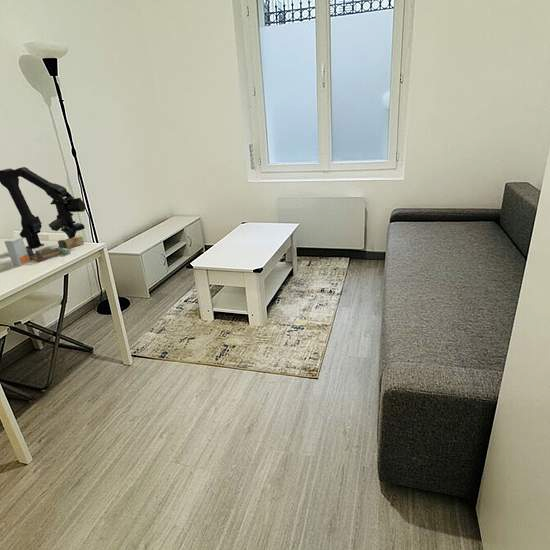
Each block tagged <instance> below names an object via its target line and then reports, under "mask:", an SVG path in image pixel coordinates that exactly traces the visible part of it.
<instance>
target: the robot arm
mask: <svg viewBox="0 0 550 550" xmlns="http://www.w3.org/2000/svg"><path fill="white" fill-rule="evenodd" d="M20 177H21V178H23V179H24V180H26V181H28V182H30V183H31V184H32V185H34V186H36V187H38V188H39V189H41V190H43V191H44V192H45V194H46V195H47V196H48V197H50V198H51V199H52V201H51V202H50V205H54V206H55V207H56V211H57V215H56V218H55V220H53V221H51V222H50V223H48V227H49V228H50V229H51V230H52V231H55V232H59V230H60V231H61V232H63V233H65V234H66V237H68V239H69V238H72V237H75V236H76V234H77V232H79V231H82V230H85V225H84V224H83V223H81V222H77V223H76V220H74V219H73V216H74V213H78V212H79V213H81V212H85V210H86V203H85V202H84V201H83V200H82V198H81V197H76V198H75V197H74V196H73V195H72V194H71V193H70V192H69V191H67V188H66V187H64V186H62V185H60V184H57V183H53V182H51V181H48V180H47V179H46V178H43V177H42V176H40V175H38V174H37V173H35V172H33V171H32V170H30V169H29V168H28V167H25V166H22V167H18V168H16V169H13V168H5V169H1V170H0V184H1V185H2V186H3V187H4V188H6V189H7V191H8V194H9V195H10V197H11V199H12V200H13V203H14V206H15V207H16V209H17V211H18V213H19V215H20V219H21V220H20V224H21V227H22V229H21V231H20V232H19V237H22V238H23V239H25V240H26V243H27V245H25V247H26V249H32V250H34V249H36V248H40V247H42V246H45V244H44V243H41V241H40V238H39V233H41V229H42V222H41V220H40V217H39V216H38V215H36V216H35V215H34V214H33V213H32V211H31V209H30V207H29V204H28V203H27V201H26V199H25V197H24V195H23V192H22V190H21V188H20V185H19V184H20V179H19V178H20Z"/></svg>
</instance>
